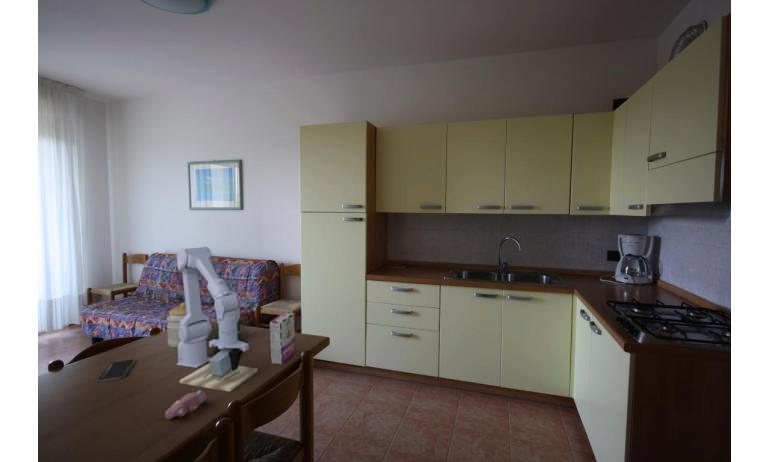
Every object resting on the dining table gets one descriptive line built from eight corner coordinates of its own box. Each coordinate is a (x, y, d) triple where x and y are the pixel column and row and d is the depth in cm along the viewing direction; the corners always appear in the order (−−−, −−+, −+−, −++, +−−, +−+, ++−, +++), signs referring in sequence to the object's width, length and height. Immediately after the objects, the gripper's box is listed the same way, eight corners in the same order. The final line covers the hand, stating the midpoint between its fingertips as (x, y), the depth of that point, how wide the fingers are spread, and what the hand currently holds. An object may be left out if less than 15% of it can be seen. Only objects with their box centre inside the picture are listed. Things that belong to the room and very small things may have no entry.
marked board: (179, 383, 112) (179, 380, 112) (211, 364, 126) (211, 361, 126) (229, 391, 107) (229, 388, 107) (257, 371, 120) (257, 368, 120)
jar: (191, 348, 141) (189, 306, 140) (160, 347, 141) (158, 306, 140) (207, 336, 154) (206, 298, 153) (179, 336, 154) (178, 298, 153)
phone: (96, 380, 112) (110, 362, 126) (96, 384, 113) (110, 365, 126) (125, 376, 116) (136, 358, 129) (125, 379, 116) (136, 361, 129)
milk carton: (233, 346, 142) (231, 300, 141) (213, 345, 144) (211, 299, 142) (244, 338, 151) (243, 295, 150) (225, 337, 152) (224, 294, 151)
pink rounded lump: (170, 428, 91) (176, 409, 89) (162, 416, 93) (167, 398, 91) (205, 409, 100) (211, 392, 98) (197, 399, 102) (202, 382, 100)
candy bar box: (284, 351, 137) (283, 312, 136) (295, 352, 136) (295, 313, 135) (270, 363, 126) (268, 321, 125) (282, 365, 125) (281, 322, 124)
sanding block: (212, 376, 110) (208, 360, 109) (229, 361, 118) (226, 346, 116) (222, 377, 109) (219, 361, 108) (238, 362, 117) (235, 347, 115)
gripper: (201, 332, 112) (202, 371, 113) (238, 336, 108) (239, 376, 109) (217, 325, 119) (218, 362, 120) (252, 328, 115) (253, 367, 116)
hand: (229, 368), depth 115 cm, fingers closed on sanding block, 4 cm apart
